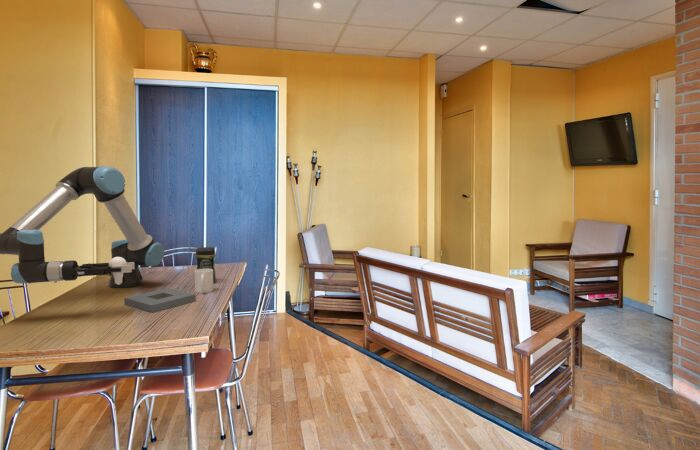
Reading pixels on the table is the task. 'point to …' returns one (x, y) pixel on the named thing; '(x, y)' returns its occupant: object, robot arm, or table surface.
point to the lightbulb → (117, 262)
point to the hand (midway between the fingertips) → (132, 267)
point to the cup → (204, 280)
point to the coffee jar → (206, 259)
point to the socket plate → (159, 300)
